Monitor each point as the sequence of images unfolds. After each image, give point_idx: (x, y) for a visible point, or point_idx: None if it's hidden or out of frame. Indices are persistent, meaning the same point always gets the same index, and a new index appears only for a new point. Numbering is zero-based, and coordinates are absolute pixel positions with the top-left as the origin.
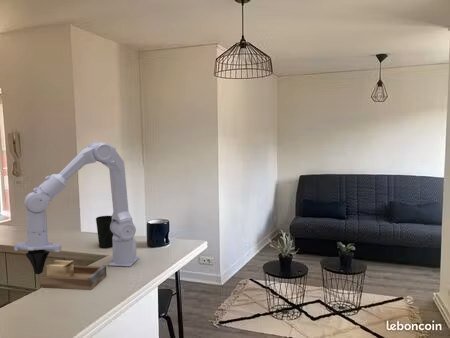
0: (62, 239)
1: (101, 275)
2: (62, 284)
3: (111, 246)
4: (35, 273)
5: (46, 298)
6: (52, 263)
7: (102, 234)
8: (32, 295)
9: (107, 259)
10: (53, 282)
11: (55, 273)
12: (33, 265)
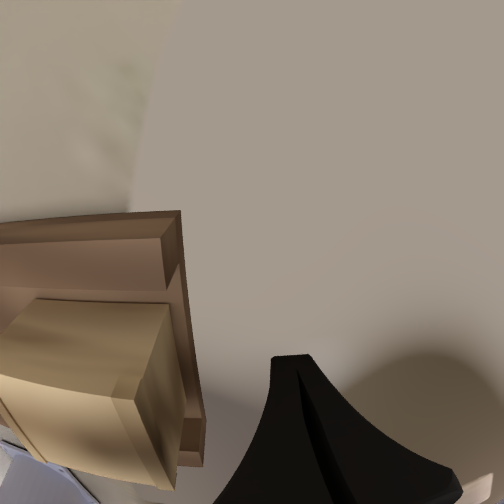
0: None
1: None
2: (4, 229)
3: None
4: (306, 356)
5: (31, 55)
6: (128, 441)
7: None
8: (144, 58)
9: (121, 500)
10: (51, 230)
11: (75, 335)
12: (335, 406)
